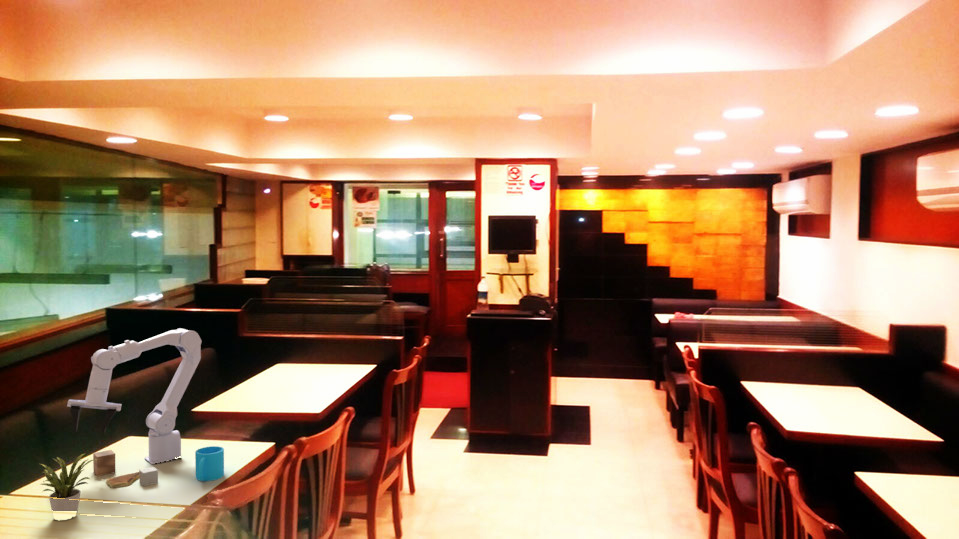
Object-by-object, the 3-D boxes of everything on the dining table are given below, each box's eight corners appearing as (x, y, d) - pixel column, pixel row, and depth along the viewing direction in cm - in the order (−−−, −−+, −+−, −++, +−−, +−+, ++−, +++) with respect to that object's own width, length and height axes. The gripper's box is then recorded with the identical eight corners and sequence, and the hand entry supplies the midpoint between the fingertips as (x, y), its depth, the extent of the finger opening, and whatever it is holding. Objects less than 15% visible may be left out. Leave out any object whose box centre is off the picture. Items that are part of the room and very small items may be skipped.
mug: (202, 471, 207) (201, 446, 207) (227, 471, 207) (227, 446, 207) (185, 485, 195) (185, 458, 195) (213, 485, 195) (212, 458, 195)
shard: (143, 475, 205) (143, 469, 205) (152, 481, 199) (152, 475, 199) (105, 484, 197) (105, 478, 197) (112, 491, 192) (112, 484, 192)
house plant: (103, 501, 182) (102, 443, 182) (101, 520, 170) (100, 458, 170) (42, 510, 176) (40, 450, 175) (35, 530, 163) (34, 466, 163)
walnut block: (111, 468, 209) (111, 449, 209) (115, 472, 206) (115, 453, 206) (93, 472, 206) (93, 453, 206) (97, 476, 202) (97, 457, 202)
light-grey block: (153, 479, 200) (153, 466, 200) (157, 483, 197) (157, 470, 197) (139, 482, 197) (139, 469, 197) (143, 486, 194) (143, 473, 194)
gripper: (69, 387, 198) (59, 432, 196) (122, 392, 203) (113, 436, 202) (73, 384, 204) (64, 428, 203) (125, 389, 210) (116, 432, 208)
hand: (89, 432), depth 203 cm, fingers open, 7 cm apart
